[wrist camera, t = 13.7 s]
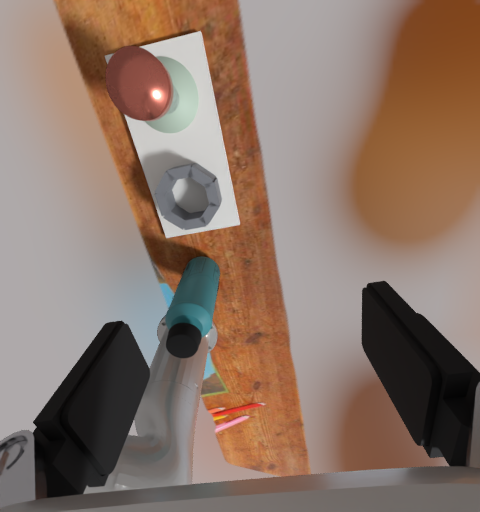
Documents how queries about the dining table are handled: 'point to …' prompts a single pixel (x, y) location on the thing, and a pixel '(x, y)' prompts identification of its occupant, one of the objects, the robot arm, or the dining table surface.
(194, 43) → the board
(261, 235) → the dining table surface
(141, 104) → the copper domed post
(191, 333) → the beverage bottle
